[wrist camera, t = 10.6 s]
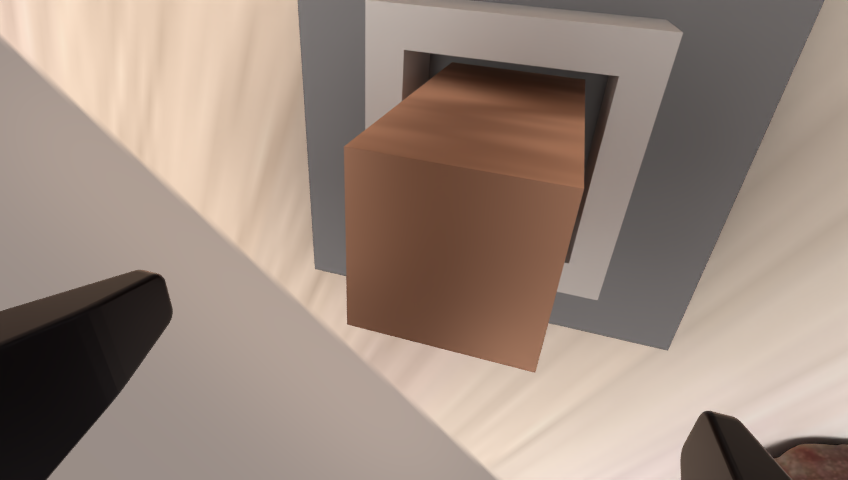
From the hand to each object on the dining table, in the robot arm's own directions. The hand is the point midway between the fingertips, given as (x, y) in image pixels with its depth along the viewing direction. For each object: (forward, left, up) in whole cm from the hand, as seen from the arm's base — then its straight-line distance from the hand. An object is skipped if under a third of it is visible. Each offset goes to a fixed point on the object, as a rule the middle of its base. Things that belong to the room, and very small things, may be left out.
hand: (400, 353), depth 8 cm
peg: (0, 0, -12) cm, 12 cm away
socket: (0, 0, -13) cm, 13 cm away
